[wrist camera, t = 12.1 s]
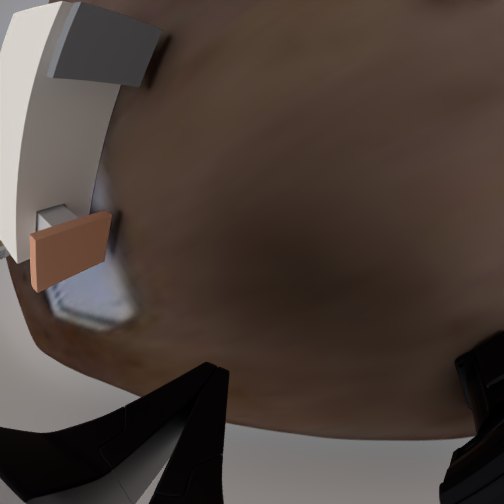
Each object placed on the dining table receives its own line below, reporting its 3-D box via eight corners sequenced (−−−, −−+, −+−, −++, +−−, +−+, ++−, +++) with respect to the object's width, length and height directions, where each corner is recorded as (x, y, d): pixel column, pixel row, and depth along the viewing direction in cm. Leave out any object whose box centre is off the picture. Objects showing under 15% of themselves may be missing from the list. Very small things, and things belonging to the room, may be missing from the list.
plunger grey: (163, 30, 17) (81, 1, 10) (139, 87, 19) (52, 78, 12) (75, 24, 19) (13, 15, 12) (59, 66, 22) (-3, 64, 15)
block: (144, 25, 19) (62, 1, 11) (86, 236, 28) (17, 263, 21) (78, 23, 21) (14, 13, 13) (37, 192, 31) (-20, 208, 23)
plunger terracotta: (112, 215, 24) (35, 240, 17) (104, 261, 26) (37, 293, 19) (42, 161, 26) (-17, 173, 19) (37, 200, 29) (-17, 216, 22)
